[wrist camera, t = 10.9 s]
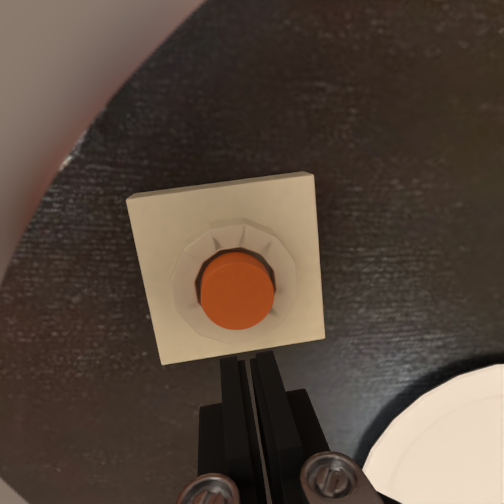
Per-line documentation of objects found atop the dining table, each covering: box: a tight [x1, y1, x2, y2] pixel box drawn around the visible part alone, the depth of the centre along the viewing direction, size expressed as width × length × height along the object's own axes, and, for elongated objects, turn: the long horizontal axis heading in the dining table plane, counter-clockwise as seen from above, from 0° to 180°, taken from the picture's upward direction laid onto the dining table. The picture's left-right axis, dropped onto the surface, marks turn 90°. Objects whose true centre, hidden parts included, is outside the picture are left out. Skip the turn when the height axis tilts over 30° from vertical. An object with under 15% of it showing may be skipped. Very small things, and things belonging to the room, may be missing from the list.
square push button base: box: [126, 171, 325, 365], centre depth 22 cm, size 10×10×4 cm
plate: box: [361, 363, 504, 504], centre depth 30 cm, size 21×21×2 cm
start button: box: [200, 252, 274, 330], centre depth 19 cm, size 4×4×2 cm
